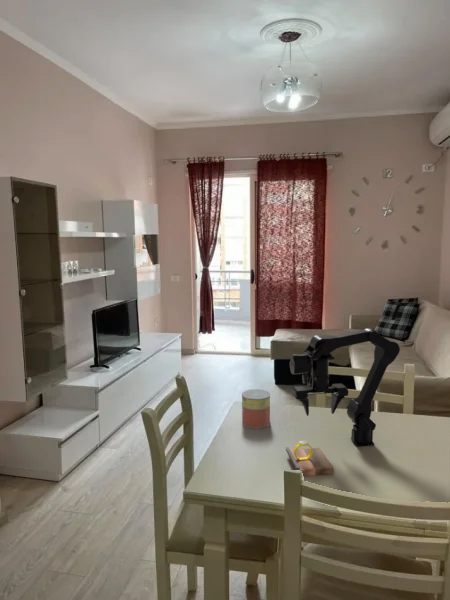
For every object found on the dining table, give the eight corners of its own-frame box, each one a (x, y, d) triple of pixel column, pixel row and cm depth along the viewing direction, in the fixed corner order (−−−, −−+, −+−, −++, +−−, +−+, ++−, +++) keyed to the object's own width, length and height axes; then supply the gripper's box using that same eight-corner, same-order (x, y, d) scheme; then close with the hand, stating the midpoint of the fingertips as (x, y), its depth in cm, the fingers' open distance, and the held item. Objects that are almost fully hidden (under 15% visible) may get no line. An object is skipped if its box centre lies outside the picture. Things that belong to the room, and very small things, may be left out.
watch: (310, 457, 152) (311, 440, 151) (312, 461, 149) (314, 444, 149) (292, 457, 151) (293, 440, 150) (295, 461, 148) (296, 444, 148)
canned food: (244, 416, 192) (244, 388, 190) (271, 418, 189) (271, 390, 188) (239, 427, 181) (239, 398, 179) (268, 429, 178) (268, 399, 177)
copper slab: (319, 453, 158) (319, 445, 158) (333, 474, 145) (333, 465, 144) (285, 455, 157) (285, 447, 157) (296, 476, 143) (296, 467, 143)
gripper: (336, 363, 169) (336, 404, 171) (287, 367, 167) (288, 408, 169) (349, 372, 158) (348, 415, 160) (296, 376, 156) (296, 420, 158)
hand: (320, 414), depth 162 cm, fingers open, 9 cm apart
